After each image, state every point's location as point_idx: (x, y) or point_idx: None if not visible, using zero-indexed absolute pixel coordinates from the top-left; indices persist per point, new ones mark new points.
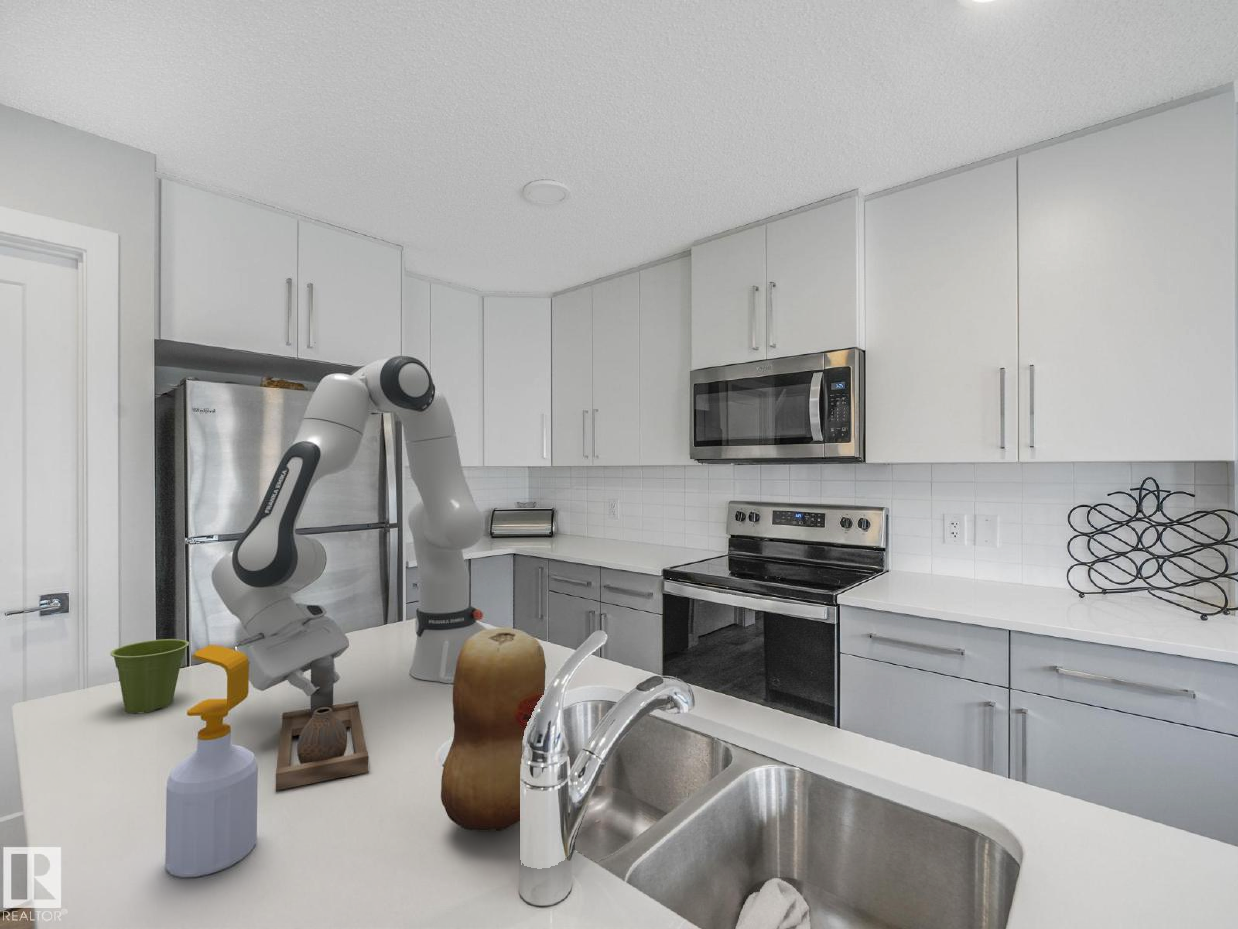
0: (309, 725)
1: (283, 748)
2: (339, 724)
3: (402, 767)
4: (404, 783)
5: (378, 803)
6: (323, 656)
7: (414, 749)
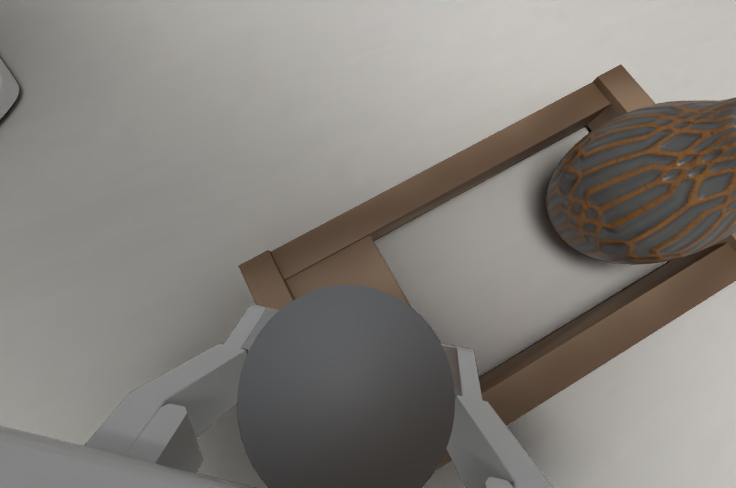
0: None
1: (620, 336)
2: (681, 101)
3: (547, 39)
4: (610, 12)
5: (695, 30)
6: (180, 474)
7: (459, 44)
